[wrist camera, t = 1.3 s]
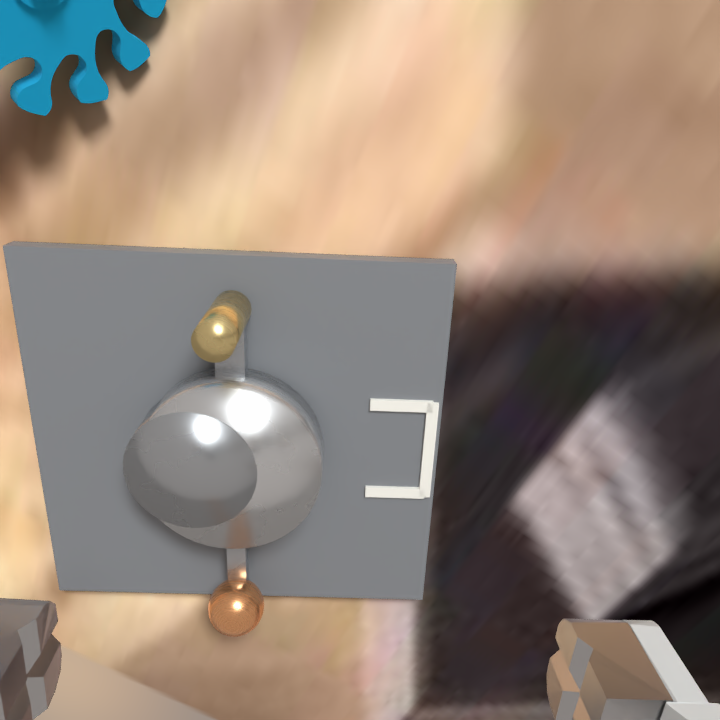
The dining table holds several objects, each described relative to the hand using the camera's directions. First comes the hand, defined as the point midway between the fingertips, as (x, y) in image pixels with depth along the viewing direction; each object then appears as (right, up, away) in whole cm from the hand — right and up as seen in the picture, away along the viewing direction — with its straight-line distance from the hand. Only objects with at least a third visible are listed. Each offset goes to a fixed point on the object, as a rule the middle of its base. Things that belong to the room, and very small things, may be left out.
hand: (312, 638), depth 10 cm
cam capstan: (-6, -1, +23) cm, 24 cm away
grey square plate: (-6, 0, +24) cm, 25 cm away
